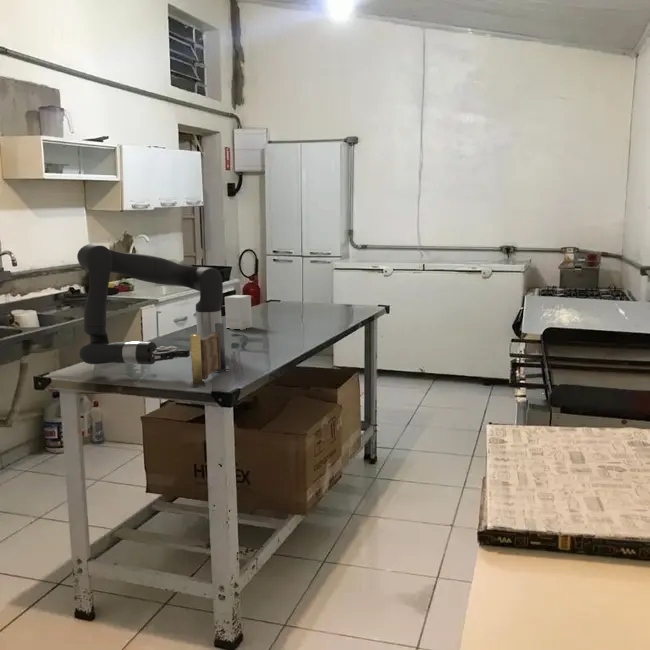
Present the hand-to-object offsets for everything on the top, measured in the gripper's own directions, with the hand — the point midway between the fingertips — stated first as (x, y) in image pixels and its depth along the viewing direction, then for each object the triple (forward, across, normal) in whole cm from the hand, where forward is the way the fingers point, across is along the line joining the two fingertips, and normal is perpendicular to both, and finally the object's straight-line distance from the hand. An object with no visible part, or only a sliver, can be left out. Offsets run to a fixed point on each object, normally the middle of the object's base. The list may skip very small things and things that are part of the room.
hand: (188, 353), depth 226 cm
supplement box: (-15, +93, +9) cm, 95 cm away
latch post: (+6, -9, +8) cm, 14 cm away
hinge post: (+6, +12, +8) cm, 16 cm away
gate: (+6, +1, +7) cm, 9 cm away
